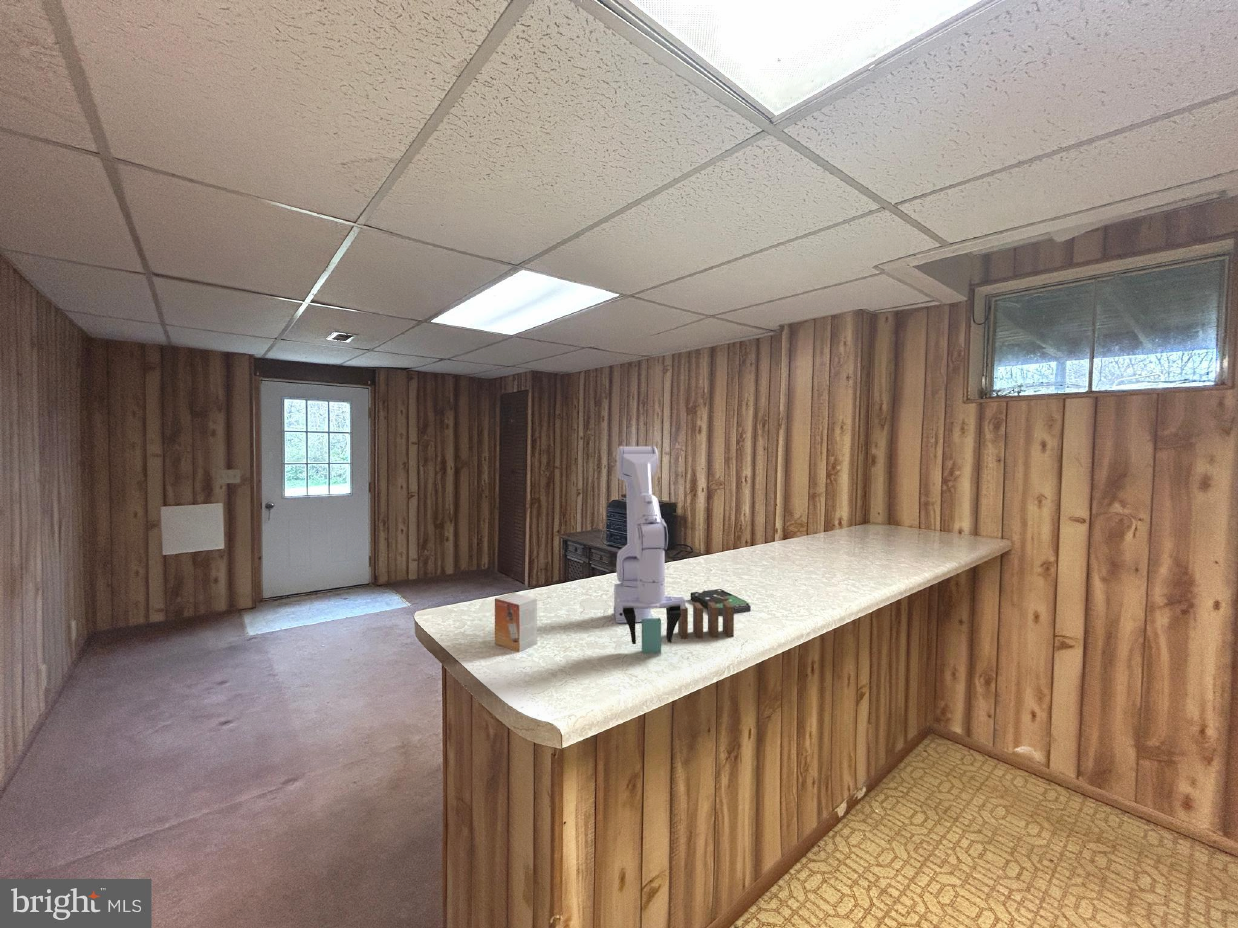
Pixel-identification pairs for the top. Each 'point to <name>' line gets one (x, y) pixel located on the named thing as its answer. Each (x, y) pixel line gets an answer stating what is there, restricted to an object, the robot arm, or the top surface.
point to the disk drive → (720, 600)
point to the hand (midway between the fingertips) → (651, 641)
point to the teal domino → (651, 635)
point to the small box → (515, 621)
